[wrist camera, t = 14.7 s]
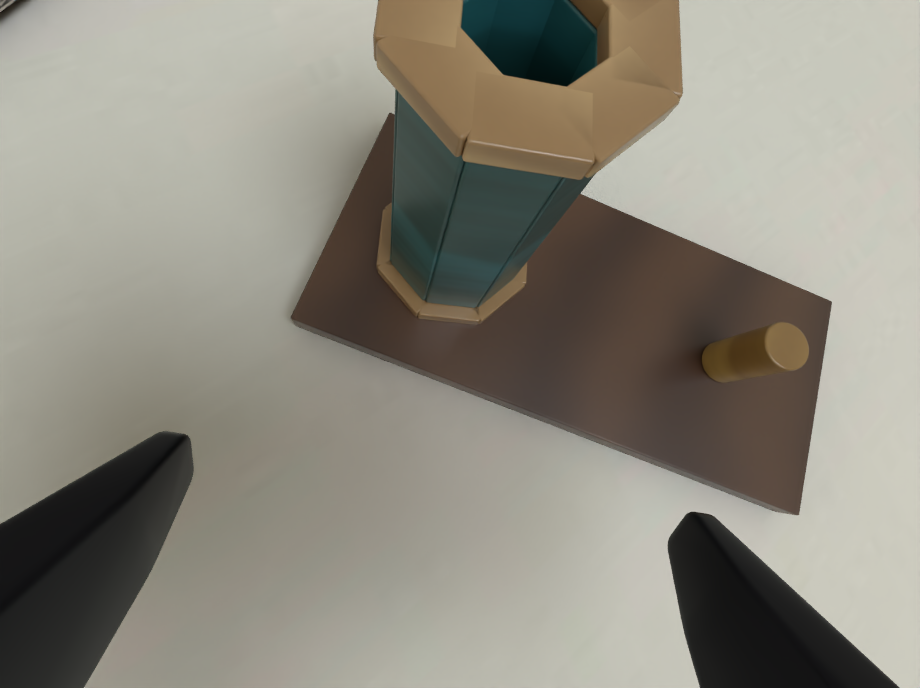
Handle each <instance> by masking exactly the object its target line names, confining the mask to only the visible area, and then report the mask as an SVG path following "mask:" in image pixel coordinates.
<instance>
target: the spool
mask: <svg viewBox="0 0 920 688" xmlns="http://www.w3.org/2000/svg"><path fill="white" fill-rule="evenodd" d="M373 41H374V58H375V61H377V67H378V69H379V70H380V71H381V73H382V74H383V75H384V76H385V77H386V78H387V79H388V81H389V82H390V83H391V84H392V85H393V86H394V87H395V89H396V90H395V121H394V152H393V183H392V203H390V204H389V205H387V206H386V207H385V209H384V210H383V213H382V222H381V230H380V238H379V247H378V255H377V270H378V273H379V275H380V276H381V277H382V278H383V279H384V280H385V282H386V283H387V284H388V285H389V286H390V288H391V289H392V290H393V291H394V292H395V293H396V295H397V296H398V297H399V298H400V299H401V301H402V302H403V303H404V304H405V305H406V306H407V308H408V309H409V310H410V311H411V312H412V314H413V315H414V316H415V317H417V316H418V318H419V319H426V320H435V321H444V322H453V323H462V324H471V325H477V324H481V323H482V322H483V321H484V320H486V319H487V318H488V317H489V316H490V315H492V314H493V313H494V312H495V311H497V310H498V309H499V308H500V307H501V306H503V305H504V304H505V303H506V302H508V301H509V300H510V299H511V298H512V297H514V296H515V295H516V294H517V293H518V292H520V291H521V290H522V289H523V288H524V286H525V284H526V276H527V261H528V260H529V258H530V257H531V256H532V255H533V253H534V252H535V251H536V249H537V248H538V247H539V246H540V244H541V243H542V242H543V240H544V239H545V238H546V237H547V235H548V234H549V233H550V231H551V230H552V229H553V228H554V226H555V225H556V224H557V222H558V221H559V220H560V219H561V217H562V216H563V215H564V213H565V212H566V211H567V210H568V208H569V207H570V206H571V205H572V203H573V202H574V201H575V199H576V198H577V197H578V196H579V194H580V193H581V192H582V190H583V189H584V188H585V187H586V185H587V184H588V183H589V181H590V180H591V179H592V178H593V176H594V175H595V174H596V173H597V172H598V171H599V170H601V169H602V168H603V167H604V166H606V165H607V164H608V163H610V162H611V161H612V160H613V159H615V158H616V157H617V156H619V155H620V154H621V153H622V152H624V151H625V150H626V149H628V148H629V147H630V146H632V145H633V144H634V143H635V142H637V141H638V140H639V139H641V138H642V137H643V136H644V135H646V134H647V133H648V132H650V131H651V130H652V129H653V128H655V127H656V126H657V125H659V124H660V123H661V122H662V121H664V120H665V119H666V118H667V116H668V115H669V114H670V113H671V112H672V111H673V109H674V108H675V107H676V106H677V105H678V103H679V101H680V98H681V96H682V94H683V87H682V63H681V39H680V15H679V0H378V5H377V13H376V20H375V27H374V35H373Z"/></svg>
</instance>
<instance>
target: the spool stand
mask: <svg viewBox="0 0 920 688" xmlns="http://www.w3.org/2000/svg"><path fill="white" fill-rule="evenodd" d="M394 121H395V114H392V113H389V115H388V117H387V119H386V121H385V123H384V125H383V127H382V129H381V131H380V133H379V135H378V137H377V140H376V142H375V144H374V146H373V148H372V150H371V152H370V154H369V156H368V158H367V160H366V162H365V164H364V167H363V169H362V171H361V173H360V175H359V177H358V179H357V181H356V183H355V185H354V187H353V189H352V191H351V193H350V196H349V198H348V200H347V202H346V204H345V206H344V208H343V210H342V212H341V214H340V216H339V218H338V220H337V223H336V225H335V227H334V229H333V231H332V233H331V235H330V237H329V239H328V241H327V243H326V245H325V247H324V250H323V252H322V254H321V256H320V258H319V260H318V262H317V264H316V266H315V268H314V270H313V272H312V274H311V277H310V279H309V281H308V283H307V285H306V287H305V289H304V291H303V293H302V295H301V297H300V299H299V301H298V303H297V306H296V308H295V310H294V312H293V314H292V316H291V319H292V320H293V322H294V323H295V325H296V326H298V327H300V328H303V329H305V330H308V331H311V332H313V333H316V334H318V335H321V336H324V337H326V338H329V339H331V340H334V341H336V342H339V343H342V344H344V345H347V346H349V347H352V348H355V349H357V350H360V351H362V352H365V353H367V354H370V355H373V356H375V357H378V358H380V359H383V360H386V361H388V362H391V363H393V364H396V365H398V366H401V367H404V368H406V369H409V370H411V371H414V372H416V373H419V374H422V375H424V376H427V377H429V378H432V379H435V380H437V381H440V382H442V383H445V384H447V385H450V386H453V387H455V388H458V389H460V390H463V391H466V392H468V393H471V394H473V395H476V396H478V397H481V398H484V399H486V400H489V401H491V402H494V403H497V404H499V405H502V406H504V407H507V408H509V409H512V410H515V411H517V412H520V413H522V414H525V415H528V416H530V417H533V418H535V419H538V420H540V421H543V422H546V423H548V424H551V425H553V426H556V427H558V428H561V429H564V430H566V431H569V432H571V433H574V434H577V435H579V436H582V437H584V438H587V439H589V440H592V441H595V442H597V443H600V444H602V445H605V446H608V447H610V448H613V449H615V450H618V451H620V452H623V453H626V454H628V455H631V456H633V457H636V458H639V459H641V460H644V461H646V462H649V463H651V464H654V465H657V466H659V467H662V468H664V469H667V470H670V471H672V472H675V473H677V474H680V475H682V476H685V477H688V478H690V479H693V480H695V481H698V482H700V483H703V484H706V485H708V486H711V487H713V488H716V489H719V490H721V491H724V492H726V493H729V494H731V495H734V496H737V497H739V498H742V499H744V500H747V501H750V502H752V503H755V504H757V505H760V506H762V507H765V508H768V509H770V510H773V511H775V512H781V513H787V514H792V515H799V511H800V504H801V498H802V491H803V485H804V479H805V472H806V466H807V459H808V453H809V446H810V440H811V434H812V427H813V421H814V414H815V408H816V401H817V395H818V389H819V382H820V376H821V369H822V363H823V356H824V350H825V344H826V337H827V331H828V324H829V318H830V311H831V305H832V302H831V301H829V300H827V299H824V298H822V297H820V296H817V295H815V294H813V293H810V292H808V291H806V290H803V289H801V288H799V287H796V286H794V285H792V284H789V283H787V282H785V281H782V280H780V279H778V278H775V277H773V276H771V275H768V274H766V273H764V272H761V271H759V270H757V269H754V268H752V267H750V266H747V265H745V264H743V263H740V262H738V261H736V260H733V259H731V258H729V257H726V256H724V255H722V254H719V253H717V252H715V251H712V250H710V249H708V248H705V247H703V246H701V245H698V244H696V243H694V242H691V241H689V240H687V239H684V238H682V237H680V236H677V235H675V234H673V233H670V232H668V231H666V230H663V229H661V228H659V227H656V226H654V225H652V224H649V223H647V222H645V221H642V220H640V219H638V218H635V217H633V216H631V215H628V214H626V213H624V212H621V211H619V210H617V209H614V208H612V207H610V206H607V205H605V204H603V203H600V202H598V201H596V200H593V199H591V198H589V197H586V196H584V195H582V194H579V196H578V197H577V198H576V199H575V201H574V202H573V203H572V205H571V206H570V207H569V208H568V210H567V211H566V212H565V213H564V215H563V216H562V217H561V219H560V220H559V221H558V222H557V224H556V225H555V226H554V228H553V229H552V230H551V231H550V233H549V234H548V235H547V237H546V238H545V239H544V240H543V242H542V243H541V244H540V246H539V247H538V248H537V249H536V251H535V252H534V253H533V255H532V256H531V257H530V258H529V260H528V261H527V276H526V284H525V286H524V288H523V289H522V290H521V291H520V292H518V293H517V294H516V295H515V296H514V297H512V298H511V299H510V300H509V301H508V302H506V303H505V304H504V305H503V306H501V307H500V308H499V309H498V310H497V311H495V312H494V313H493V314H492V315H490V316H489V317H488V318H487V319H486V320H484V321H483V322H482V323H481V324H477V325H471V324H462V323H453V322H444V321H435V320H426V319H419V318H418V316H417V317H415V316H414V315H413V314H412V312H411V311H410V310H409V309H408V308H407V306H406V305H405V304H404V303H403V302H402V301H401V299H400V298H399V297H398V296H397V295H396V293H395V292H394V291H393V290H392V289H391V288H390V286H389V285H388V284H387V283H386V282H385V280H384V279H383V278H382V277H381V276H380V275H379V273H378V270H377V255H378V247H379V238H380V230H381V222H382V213H383V210H384V209H385V207H386V206H387V205H389V204H390V203H392V183H393V152H394Z"/></svg>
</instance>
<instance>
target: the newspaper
mask: <svg viewBox="0 0 920 688" xmlns="http://www.w3.org/2000/svg"><path fill="white" fill-rule="evenodd" d="M15 1H16V0H0V12H1V11H2V10H4V9H5V8H6V7H8V6H9V5H11V4H12V3H13V2H15Z"/></svg>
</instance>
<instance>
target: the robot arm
mask: <svg viewBox="0 0 920 688" xmlns="http://www.w3.org/2000/svg"><path fill="white" fill-rule="evenodd" d="M193 471H194V466H193V457H192V448H191V441H190V438H189V436H188V435H186V434H181V433H175V432H168V431H163V432H159V433H157V434H155V435H153V436H152V437H150V438H148V439H146V440H145V441H143V442H141V443H139V444H138V445H136V446H134V447H133V448H131V449H129V450H127V451H126V452H124V453H122V454H120V455H119V456H117V457H115V458H114V459H112V460H110V461H108V462H107V463H105V464H103V465H102V466H100V467H98V468H96V469H95V470H93V471H91V472H89V473H88V474H86V475H84V476H83V477H81V478H79V479H77V480H76V481H74V482H72V483H70V484H69V485H67V486H65V487H64V488H62V489H60V490H58V491H57V492H55V493H53V494H51V495H50V496H48V497H46V498H45V499H43V500H41V501H39V502H38V503H36V504H34V505H32V506H31V507H29V508H27V509H26V510H24V511H22V512H20V513H19V514H17V515H15V516H13V517H12V518H10V519H8V520H7V521H5V522H3V523H1V524H0V688H84V687H85V685H86V683H87V681H88V680H89V678H90V676H91V674H92V673H93V671H94V669H95V668H96V666H97V664H98V662H99V661H100V659H101V657H102V655H103V654H104V652H105V650H106V649H107V647H108V645H109V643H110V642H111V640H112V638H113V636H114V635H115V633H116V631H117V630H118V628H119V626H120V624H121V623H122V621H123V619H124V617H125V616H126V614H127V612H128V611H129V609H130V607H131V605H132V604H133V602H134V600H135V598H136V597H137V595H138V593H139V592H140V590H141V588H142V586H143V584H144V583H145V581H146V579H147V577H148V575H149V573H150V572H151V570H152V568H153V565H154V563H155V561H156V559H157V557H158V555H159V553H160V550H161V548H162V546H163V544H164V541H165V539H166V537H167V535H168V532H169V530H170V528H171V526H172V523H173V521H174V519H175V517H176V514H177V512H178V510H179V508H180V505H181V503H182V501H183V499H184V496H185V494H186V492H187V490H188V488H189V485H190V483H191V480H192V477H193ZM668 553H669V558H670V564H671V569H672V574H673V579H674V584H675V589H676V594H677V599H678V604H679V609H680V615H681V620H682V624H683V628H684V633H685V637H686V641H687V644H688V648H689V651H690V655H691V658H692V662H693V665H694V668H695V672H696V675H697V679H698V682H699V685H700V688H899V687H898V686H897V685H896V684H895V683H894V682H893V681H892V680H891V679H890V678H889V677H888V676H886V675H885V674H884V673H883V672H882V671H881V670H880V669H879V668H878V667H877V666H876V665H875V664H873V663H872V662H871V661H870V660H869V659H868V658H867V657H866V656H865V655H864V654H863V653H862V652H860V651H859V650H858V649H857V648H856V647H855V646H854V645H853V644H852V643H851V642H850V641H849V640H847V639H846V638H845V637H844V636H843V635H842V634H841V633H840V632H839V631H838V630H837V629H836V628H834V627H833V626H832V625H831V624H830V623H829V622H828V621H827V620H826V619H825V618H824V617H823V616H821V615H820V614H819V613H818V612H817V611H816V610H815V609H814V608H813V607H812V606H811V605H810V604H808V603H807V602H806V601H805V600H804V599H803V598H802V597H801V596H800V595H799V594H798V593H797V592H795V591H794V590H793V589H792V588H791V587H790V586H789V585H788V584H787V583H786V582H785V581H784V580H782V579H781V578H780V577H779V576H778V575H777V574H776V573H775V572H774V571H773V570H772V569H770V568H769V567H768V566H767V565H766V564H765V563H764V562H763V561H762V560H761V559H760V558H759V557H757V556H756V555H755V554H754V553H753V552H752V551H751V550H750V549H749V548H748V547H747V546H746V545H744V544H743V543H742V542H741V541H740V540H739V539H738V538H737V537H736V536H735V535H734V534H733V533H731V532H730V531H729V530H728V529H727V528H726V527H725V526H724V525H723V524H722V523H721V522H720V521H718V520H717V519H716V518H715V517H714V516H712V515H709V514H704V513H698V512H690V513H688V514H686V515H685V517H684V518H683V519H682V521H681V522H680V523H679V525H678V526H677V528H676V529H675V530H674V532H673V533H672V534H671V536H670V538H669V541H668Z"/></svg>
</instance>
